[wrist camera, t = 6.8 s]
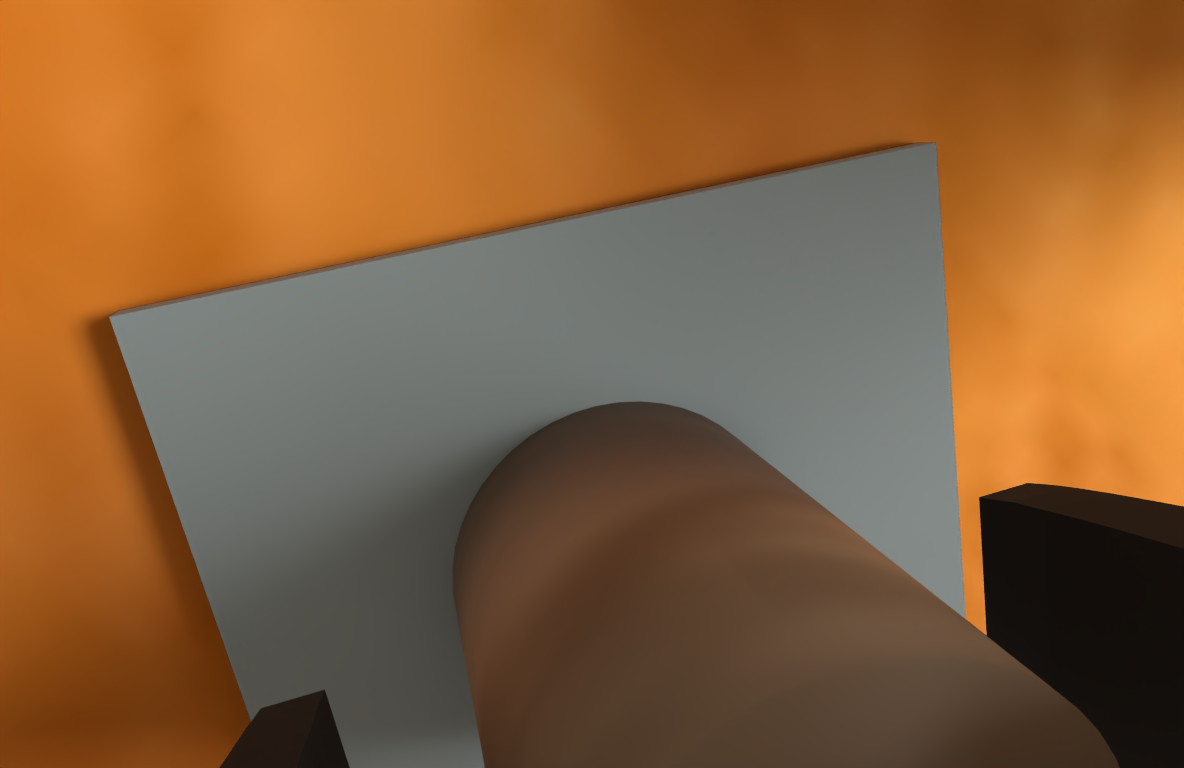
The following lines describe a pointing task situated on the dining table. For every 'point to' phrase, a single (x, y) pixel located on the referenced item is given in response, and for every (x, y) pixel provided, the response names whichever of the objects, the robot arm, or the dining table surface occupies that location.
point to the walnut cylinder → (718, 620)
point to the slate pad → (537, 411)
